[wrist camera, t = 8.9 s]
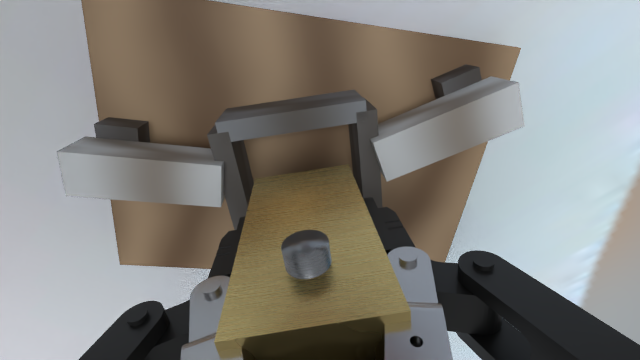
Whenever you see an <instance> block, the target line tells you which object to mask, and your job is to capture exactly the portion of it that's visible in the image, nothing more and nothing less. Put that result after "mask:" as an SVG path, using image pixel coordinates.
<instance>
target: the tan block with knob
mask: <svg viewBox="0 0 640 360" xmlns="http://www.w3.org/2000/svg"><path fill="white" fill-rule="evenodd" d="M405 321H411V310H410V308H409V305H408V303H407V301H406V298H405V296H404V294H403V291H402V289H401V287H400V284H399V282H398V279H397V277H396V275H395V272H394V270H393V268H392V265H391V263H390V261H389V258H388V256H387V254H386V251H385V249H384V247H383V244H382V242H381V240H380V237H379V235H378V232H377V230H376V228H375V225H374V223H373V221H372V218H371V216H370V214H369V211H368V209H367V207H366V204H365V202H364V200H363V197H362V195H361V192H360V190H359V188H358V185H357V183H356V181H355V178H354V176H353V174H352V171H351V169H350V167H349V164H347V165H341V166H334V167H328V168H321V169H314V170H308V171H301V172H295V173H288V174H282V175H275V176H268V177H262V178H255V181H254V185H253V189H252V193H251V197H250V201H249V205H248V209H247V213H246V217H245V221H244V225H243V229H242V233H241V237H240V241H239V245H238V249H237V253H236V257H235V261H234V265H233V269H232V273H231V277H230V281H229V285H228V289H227V293H226V297H225V301H224V305H223V309H222V313H221V317H220V321H219V325H218V329H217V333H216V337H215V341H214V344H215V346H216V349H217V351H225V350H231V349H237V348H242V351H243V354H244V357H245V360H384V359H385V325H386V324H393V323H399V322H405Z"/></svg>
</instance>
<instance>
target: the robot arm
mask: <svg viewBox="0 0 640 360" xmlns="http://www.w3.org/2000/svg"><path fill="white" fill-rule="evenodd" d="M363 200H364V202H365V204H366V207H367V209H368V211H369V214H370V216H371V218H372V221H373V223H374V225H375V228H376V230H377V232H378V235H379V237H380V240H381V242H382V244H383V247H384V249H385V251H386V254H387V256H388V258H389V261H390V263H391V265H392V268H393V270H394V272H395V275H396V277H397V279H398V282H399V284H400V287H401V289H402V291H403V294H404V296H405V298H406V301H407V303H408V305H409V308H410V310H411V321H405V322H399V323H393V324H386V325H385V359H384V360H453V358H452V353H451V348H450V343H449V337H448V332H447V331H453V332H456V333H457V334H458V336H459V337H460V338H461V339H462V340H463V341H464V342H465V343H466V344H467V345H468V346H469V347H470V348H471V349H472V350H473V351H474V352H475V353H476V354H477V355H478V356H479V357H480V358H481V359H482V360H640V345H639V344H637V343H636V342H634V341H632V340H631V339H629V338H628V337H626V336H624V335H623V334H621V333H620V332H618V331H617V330H615V329H613V328H612V327H610V326H609V325H607V324H605V323H604V322H602V321H600V320H599V319H597V318H596V317H594V316H593V315H591V314H589V313H588V312H586V311H585V310H583V309H582V308H580V307H578V306H577V305H575V304H574V303H572V302H571V301H569V300H567V299H566V298H564V297H563V296H561V295H559V294H558V293H556V292H555V291H553V290H551V289H550V288H548V287H547V286H545V285H544V284H542V283H540V282H539V281H537V280H536V279H534V278H532V277H531V276H529V275H528V274H526V273H525V272H523V271H521V270H520V269H518V268H517V267H515V266H513V265H512V264H510V263H509V262H507V261H506V260H504V259H502V258H501V257H499V256H497V255H495V254H493V253H490V252H486V251H470V252H466V253H464V254H463V255H461V256H460V258H459V260H458V263H444V262H437V261H433V260H430V257H429V256H428V254H427V253H425V252H424V251H422V250H421V249H418V248H416V247H415V245H414V244H413V242H412V240H411V238H410V237H409V235H408V233H407V231H406V230H405V228H404V227H403V224H402V223H401V221H400V219H399V217H398V216H397V214H396V212H394V211H393V210H391V209H390V208H388V207H382V208H378V207H377V205H376V203H375V201H374V199H373V197H369V198H363ZM245 217H246V216H244V217H240V219H239V223H238V226H237V230H232V231H228V232H227V233H226V235H225V236H224V237H223V238H222V239H221V241H220V244H219V247H218V250H217V253H216V256H215V259H214V262H213V265H212V268H211V271H210V274H209V277H208V279H206V280H204V281H202V282H201V283H199V284H198V285H197V286H196V287H195V288H194V289H193V291H192V293H191V295H190V300H188V301H186V302H184V303H182V304H179V305H177V306H174V307H172V308H169V309H167V310H164V308H163V306H162V304H161V303H160V302H157V301H147V302H143V303H140V304H138V305H135V306H133V307H132V308H130V309H129V310H127V311H126V312H125V313H123V314H122V315H121V316H120V317H119V318H118V319H117V320H116V321H115V322H114V323H113V324H112V325H111V327H110V328H109V329H108V330H107V331H106V332H105V333H104V334H103V335H102V336H101V337H100V338H99V339H98V340H97V341H96V342H95V343H94V344H93V345H92V346H91V347H90V348H89V349H88V350H87V351H86V352H85V353H84V354H83V356H82V357H81V358H80V359H79V360H245V357H244V354H243V351H242V348H237V349H231V350H225V351H217V349H216V346H215V344H214V341H215V337H216V333H217V329H218V325H219V321H220V317H221V313H222V309H223V305H224V301H225V297H226V293H227V289H228V285H229V281H230V277H231V273H232V269H233V265H234V261H235V257H236V253H237V249H238V245H239V241H240V237H241V233H242V229H243V225H244V221H245ZM508 322H509V323H508ZM513 326H514V327H513ZM518 330H519V331H518Z"/></svg>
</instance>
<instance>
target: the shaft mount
mask: <svg viewBox="0 0 640 360" xmlns="http://www.w3.org/2000/svg"><path fill="white" fill-rule="evenodd" d="M81 1H82V8H83V15H84V22H85V29H86V35H87V42H88V49H89V56H90V63H91V69H92V76H93V83H94V90H95V97H96V104H97V110H98V117H99V122H97V123H95V124H94V127H95V133H96V138H94V137H84V138H82V139H80V140H78V141H76V142H74V143H72V144H70V145H68V146H67V147H65V148H63V149H61V150H59V151H57V155H58V160H59V165H60V170H61V174H62V179H63V184H64V189H65V194H66V196H71V197H85V198H98V199H111V206H112V213H113V220H114V226H115V233H116V240H117V247H118V254H119V260H120V265H140V266H161V267H182V268H203V269H211V268H212V265H213V262H214V259H215V256H216V253H217V250H218V247H219V244H220V241H221V239H222V238H223V237H224V236H225V235H226V233H227V232H228V231H232V230H237V226H238V223H239V219H240V217H244V216H246V213H247V209H248V205H249V201H250V197H251V193H252V189H253V185H254V181H255V178H262V177H268V176H275V175H282V174H288V173H295V172H301V171H308V170H314V169H321V168H328V167H334V166H341V165H347V164H349V167H350V169H351V171H352V174H353V176H354V178H355V181H356V183H357V185H358V188H359V190H360V192H361V195H362V197H363V198H369V197H373V199H374V201H375V203H376V205H377V207H378V208H382V207H388V208H390V209H391V210H393V211H394V212H396V214H397V216H398V217H399V219H400V221H401V223H402V224H403V227H404V228H405V230H406V231H407V233H408V235H409V237H410V238H411V240H412V242H413V244H414V245H415V247H416V248H418V249H421V250H422V251H424V252H425V253H427V254H428V256H429V257H430V260H433V261H437V262H444V263H445V260H446V257H447V255H448V252H449V249H450V246H451V243H452V241H453V238H454V235H455V232H456V229H457V227H458V224H459V221H460V218H461V215H462V213H463V210H464V207H465V204H466V201H467V199H468V196H469V193H470V190H471V187H472V184H473V182H474V179H475V176H476V173H477V170H478V168H479V165H480V162H481V159H482V156H483V154H484V151H485V148H486V145H487V142H488V141H489V140H492V139H494V138H497V137H499V136H502V135H504V134H507V133H509V132H511V131H514V130H516V129H519V128H521V127H524V119H523V112H522V104H521V97H520V89H519V83H518V82H514V81H510V78H511V75H512V72H513V69H514V67H515V64H516V61H517V58H518V55H519V53H520V50H521V48H518V47H512V46H505V45H498V44H492V43H485V42H479V41H472V40H465V39H459V38H452V37H446V36H439V35H432V34H426V33H419V32H413V31H406V30H399V29H393V28H386V27H380V26H373V25H367V24H360V23H353V22H347V21H340V20H334V19H327V18H320V17H314V16H307V15H301V14H294V13H287V12H281V11H274V10H268V9H261V8H254V7H248V6H241V5H235V4H228V3H221V2H215V1H208V0H81Z"/></svg>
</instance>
